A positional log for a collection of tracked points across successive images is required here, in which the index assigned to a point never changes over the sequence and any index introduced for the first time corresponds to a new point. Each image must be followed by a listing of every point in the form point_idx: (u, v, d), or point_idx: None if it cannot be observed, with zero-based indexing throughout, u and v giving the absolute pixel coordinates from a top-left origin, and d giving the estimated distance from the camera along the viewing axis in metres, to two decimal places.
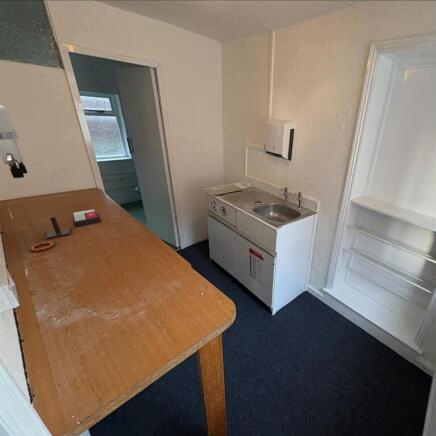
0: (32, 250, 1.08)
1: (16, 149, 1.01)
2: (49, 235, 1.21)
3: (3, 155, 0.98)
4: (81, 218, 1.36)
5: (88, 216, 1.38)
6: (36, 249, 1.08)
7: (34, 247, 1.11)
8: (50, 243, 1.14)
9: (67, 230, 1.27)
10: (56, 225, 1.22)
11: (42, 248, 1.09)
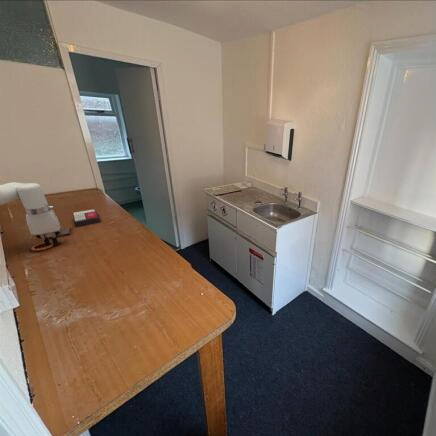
0: (33, 250, 1.08)
1: (33, 223, 1.06)
2: (49, 235, 1.21)
3: None
4: (81, 218, 1.36)
5: (88, 216, 1.38)
6: (37, 249, 1.08)
7: (35, 247, 1.11)
8: (51, 243, 1.14)
9: (67, 230, 1.27)
10: None
11: (43, 248, 1.09)
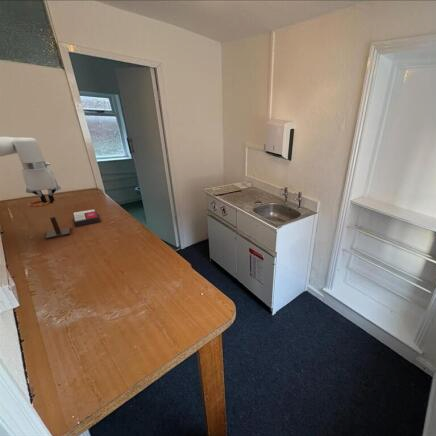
0: (29, 206, 1.09)
1: (29, 178, 1.06)
2: (49, 235, 1.21)
3: None
4: (81, 218, 1.36)
5: (88, 216, 1.38)
6: (33, 205, 1.09)
7: (31, 204, 1.12)
8: (47, 201, 1.15)
9: (67, 230, 1.27)
10: (56, 225, 1.22)
11: (39, 204, 1.10)
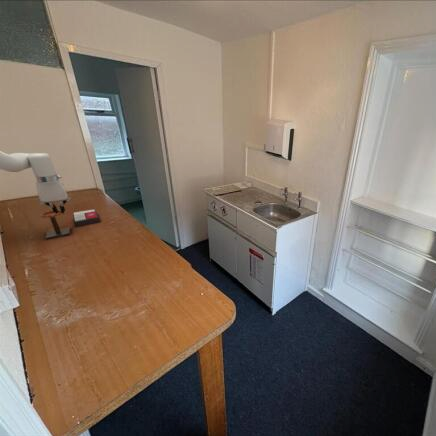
0: (42, 216, 1.17)
1: (42, 191, 1.14)
2: (49, 235, 1.21)
3: None
4: (81, 218, 1.36)
5: (88, 216, 1.38)
6: (46, 215, 1.17)
7: (44, 214, 1.19)
8: (58, 211, 1.23)
9: (67, 230, 1.27)
10: (56, 225, 1.22)
11: (51, 215, 1.18)
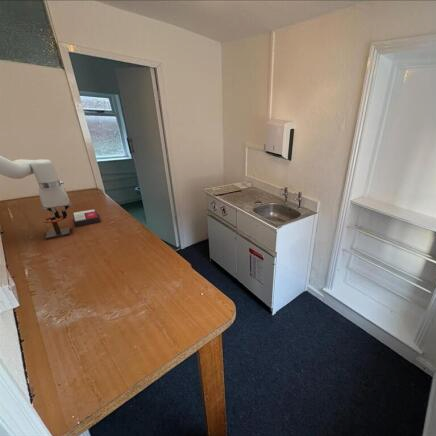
0: (44, 222, 1.18)
1: (45, 196, 1.15)
2: (49, 235, 1.21)
3: None
4: (81, 218, 1.36)
5: (88, 216, 1.38)
6: (48, 221, 1.18)
7: (46, 220, 1.20)
8: (60, 216, 1.24)
9: (67, 230, 1.27)
10: (56, 225, 1.22)
11: (53, 220, 1.19)
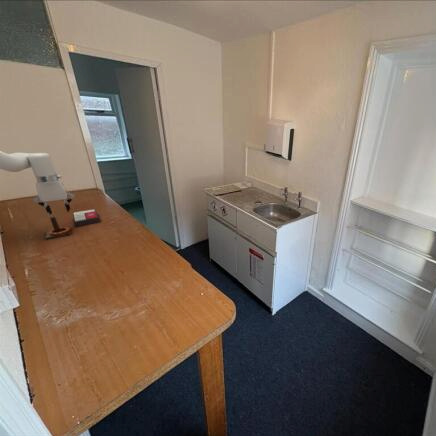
0: (51, 234, 1.21)
1: (42, 190, 1.14)
2: (49, 235, 1.21)
3: None
4: (81, 218, 1.36)
5: (88, 216, 1.38)
6: (54, 233, 1.21)
7: (52, 231, 1.24)
8: (66, 228, 1.27)
9: None
10: (56, 225, 1.22)
11: (59, 232, 1.22)
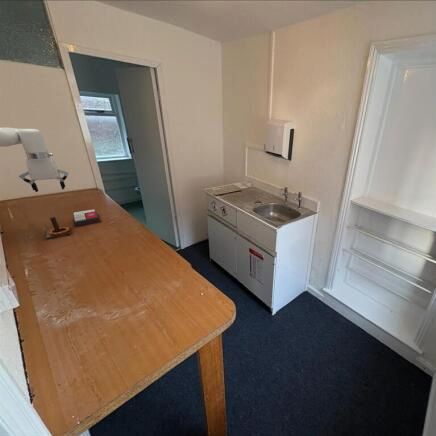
0: (51, 234, 1.21)
1: (33, 168, 1.11)
2: (49, 235, 1.21)
3: None
4: (81, 218, 1.36)
5: (88, 216, 1.38)
6: (54, 233, 1.21)
7: (52, 231, 1.24)
8: (66, 228, 1.27)
9: None
10: (56, 225, 1.22)
11: (59, 232, 1.22)
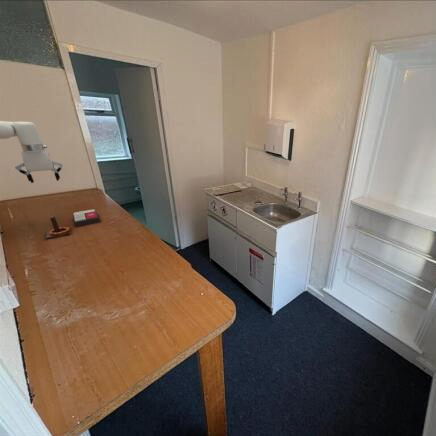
0: (51, 234, 1.21)
1: (28, 159, 1.16)
2: (49, 235, 1.21)
3: None
4: (81, 218, 1.36)
5: (88, 216, 1.38)
6: (54, 233, 1.21)
7: (52, 231, 1.24)
8: (66, 228, 1.27)
9: None
10: (56, 225, 1.22)
11: (59, 232, 1.22)
